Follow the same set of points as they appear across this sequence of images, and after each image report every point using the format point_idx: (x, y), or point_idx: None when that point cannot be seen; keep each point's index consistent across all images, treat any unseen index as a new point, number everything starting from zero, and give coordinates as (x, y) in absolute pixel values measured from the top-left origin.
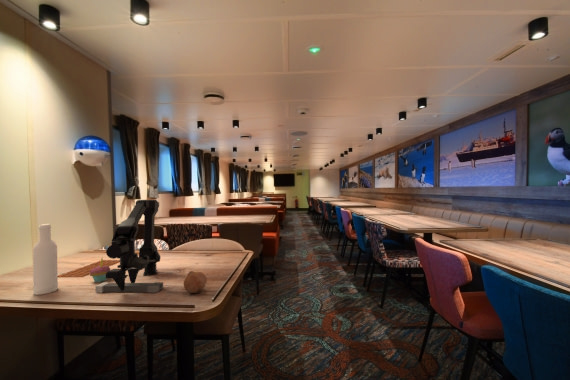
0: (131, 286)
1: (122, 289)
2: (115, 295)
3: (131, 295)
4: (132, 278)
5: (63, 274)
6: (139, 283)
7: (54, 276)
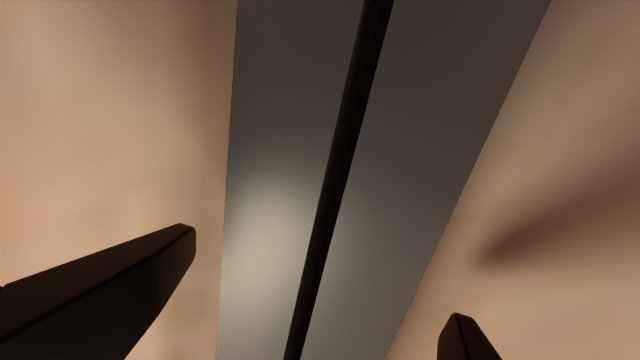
0: (437, 235)
1: (480, 347)
2: None
3: (634, 116)
4: (102, 334)
5: None
6: (292, 86)
7: None
